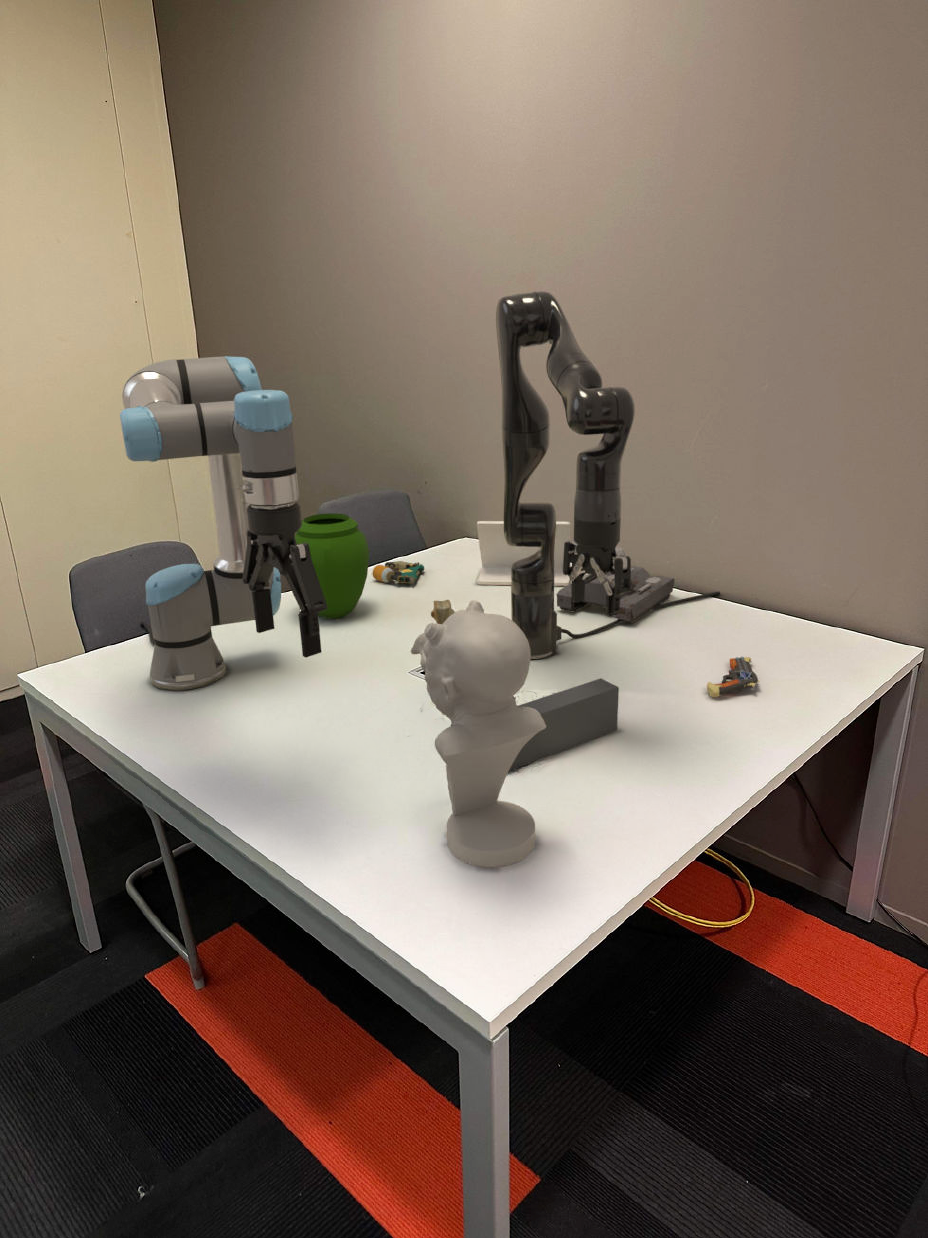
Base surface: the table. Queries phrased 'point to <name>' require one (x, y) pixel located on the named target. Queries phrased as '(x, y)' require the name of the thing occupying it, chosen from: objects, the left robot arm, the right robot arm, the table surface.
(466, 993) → the table surface
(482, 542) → the tablet stand
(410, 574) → the spray gun
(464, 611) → the bust sculpture
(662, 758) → the table surface
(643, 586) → the toy
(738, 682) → the toy gun
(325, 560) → the vase
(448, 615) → the sculpture
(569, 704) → the bar
